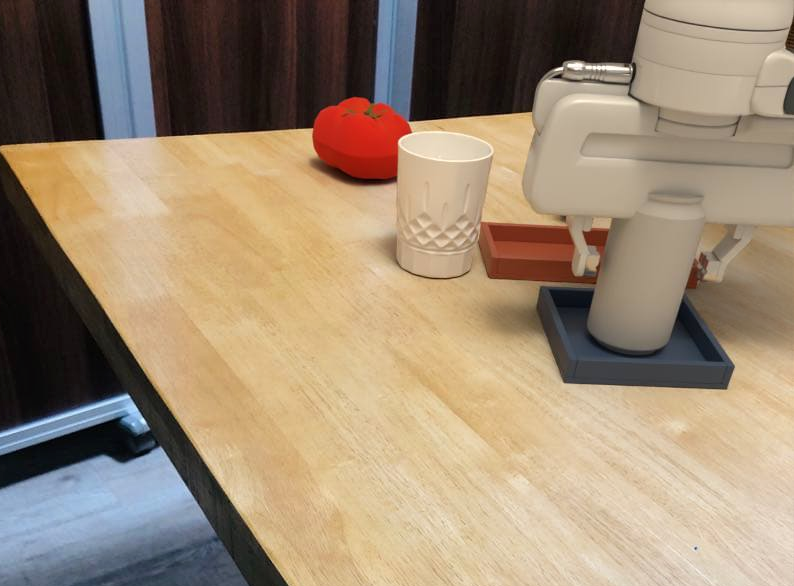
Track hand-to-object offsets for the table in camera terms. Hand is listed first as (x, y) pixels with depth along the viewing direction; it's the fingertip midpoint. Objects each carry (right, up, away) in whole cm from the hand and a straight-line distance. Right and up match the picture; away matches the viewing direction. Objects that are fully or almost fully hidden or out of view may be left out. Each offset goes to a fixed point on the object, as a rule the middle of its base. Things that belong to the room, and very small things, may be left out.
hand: (645, 276), depth 64 cm
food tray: (-1, +6, +15) cm, 17 cm away
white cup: (-15, +5, +13) cm, 21 cm away
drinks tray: (0, -4, +4) cm, 6 cm away
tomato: (-22, +21, +31) cm, 43 cm away
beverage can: (0, -4, +4) cm, 6 cm away
